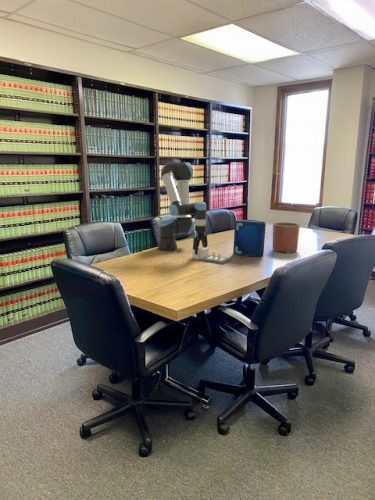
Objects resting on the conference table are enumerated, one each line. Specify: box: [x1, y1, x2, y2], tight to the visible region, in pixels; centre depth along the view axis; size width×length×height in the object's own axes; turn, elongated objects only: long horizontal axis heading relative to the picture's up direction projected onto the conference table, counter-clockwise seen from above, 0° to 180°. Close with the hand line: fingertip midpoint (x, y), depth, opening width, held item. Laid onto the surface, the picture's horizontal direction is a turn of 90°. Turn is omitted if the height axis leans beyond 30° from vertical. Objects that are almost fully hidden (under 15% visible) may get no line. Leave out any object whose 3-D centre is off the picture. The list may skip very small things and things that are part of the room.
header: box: [201, 252, 232, 265], centre depth 247 cm, size 16×12×5 cm
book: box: [232, 219, 267, 258], centre depth 258 cm, size 22×7×25 cm, turn 71°
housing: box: [191, 246, 209, 260], centre depth 254 cm, size 10×6×7 cm, turn 56°
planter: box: [272, 221, 300, 254], centre depth 273 cm, size 19×19×20 cm
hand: (200, 257), depth 255 cm, fingers open, 8 cm apart
